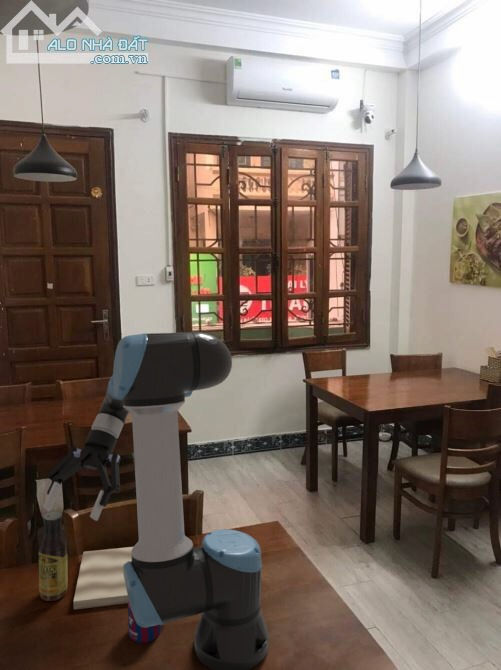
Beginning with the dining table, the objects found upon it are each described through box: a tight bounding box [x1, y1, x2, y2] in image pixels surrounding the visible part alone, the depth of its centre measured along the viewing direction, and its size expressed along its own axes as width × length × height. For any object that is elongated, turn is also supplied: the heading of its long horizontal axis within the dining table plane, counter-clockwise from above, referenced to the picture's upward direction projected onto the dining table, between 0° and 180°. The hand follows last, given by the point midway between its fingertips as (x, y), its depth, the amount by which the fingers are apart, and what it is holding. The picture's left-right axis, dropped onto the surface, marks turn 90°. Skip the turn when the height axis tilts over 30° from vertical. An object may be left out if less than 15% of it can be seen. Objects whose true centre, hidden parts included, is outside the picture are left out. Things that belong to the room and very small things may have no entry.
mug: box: [127, 602, 162, 644], centre depth 109 cm, size 7×10×7 cm
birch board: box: [73, 546, 134, 611], centre depth 126 cm, size 20×14×2 cm
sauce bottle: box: [38, 511, 69, 602], centre depth 119 cm, size 6×6×20 cm
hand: (69, 514), depth 125 cm, fingers open, 13 cm apart
